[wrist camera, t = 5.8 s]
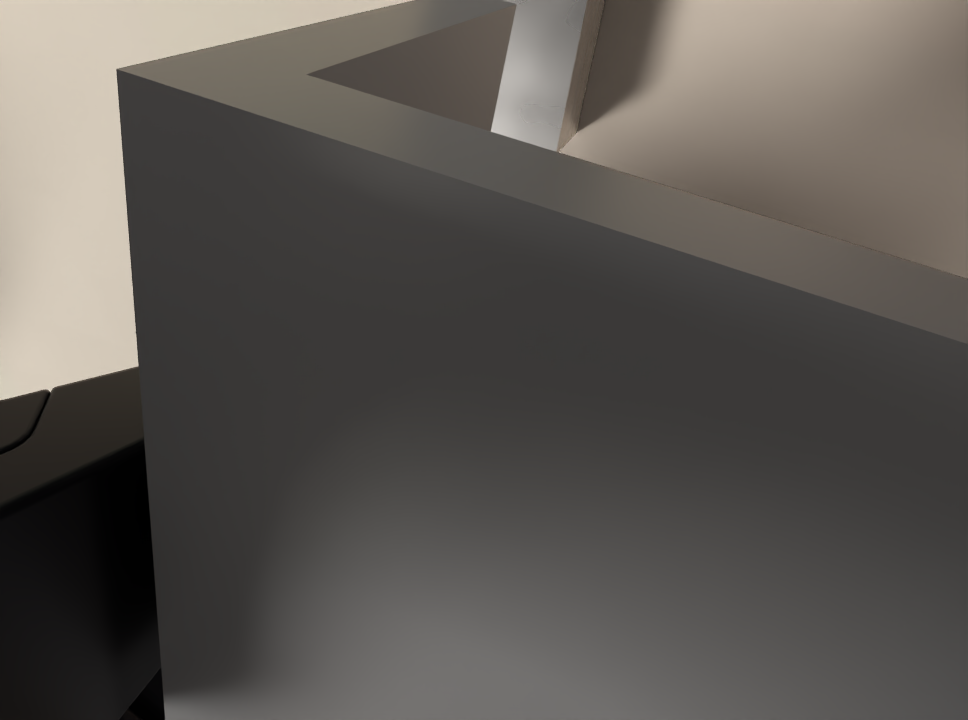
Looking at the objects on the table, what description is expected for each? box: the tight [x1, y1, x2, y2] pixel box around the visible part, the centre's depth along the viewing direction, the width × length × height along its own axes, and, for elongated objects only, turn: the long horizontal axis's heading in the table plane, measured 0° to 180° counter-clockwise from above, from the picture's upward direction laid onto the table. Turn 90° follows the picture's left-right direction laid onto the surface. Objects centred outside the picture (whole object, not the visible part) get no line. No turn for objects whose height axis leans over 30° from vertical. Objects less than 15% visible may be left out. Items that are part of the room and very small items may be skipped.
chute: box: [116, 0, 968, 720], centre depth 7 cm, size 8×6×5 cm
